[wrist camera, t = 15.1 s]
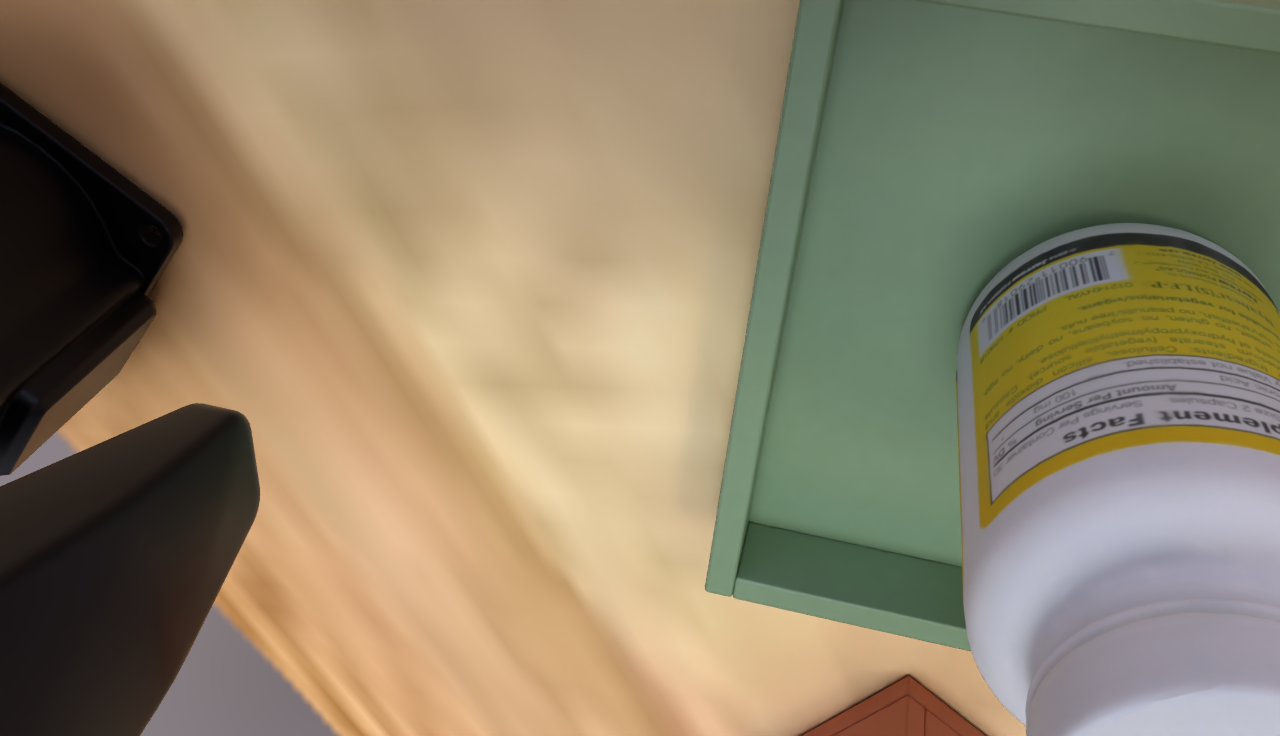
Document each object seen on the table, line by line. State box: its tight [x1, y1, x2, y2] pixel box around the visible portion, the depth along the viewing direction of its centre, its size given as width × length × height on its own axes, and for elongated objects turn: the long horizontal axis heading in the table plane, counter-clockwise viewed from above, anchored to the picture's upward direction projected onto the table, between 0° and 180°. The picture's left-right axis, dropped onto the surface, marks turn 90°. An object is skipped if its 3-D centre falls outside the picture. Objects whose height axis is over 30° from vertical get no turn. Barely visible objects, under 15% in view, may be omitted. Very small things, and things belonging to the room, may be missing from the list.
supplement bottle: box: [956, 223, 1280, 736], centre depth 16 cm, size 5×5×10 cm
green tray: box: [705, 0, 1280, 651], centre depth 20 cm, size 13×13×2 cm
